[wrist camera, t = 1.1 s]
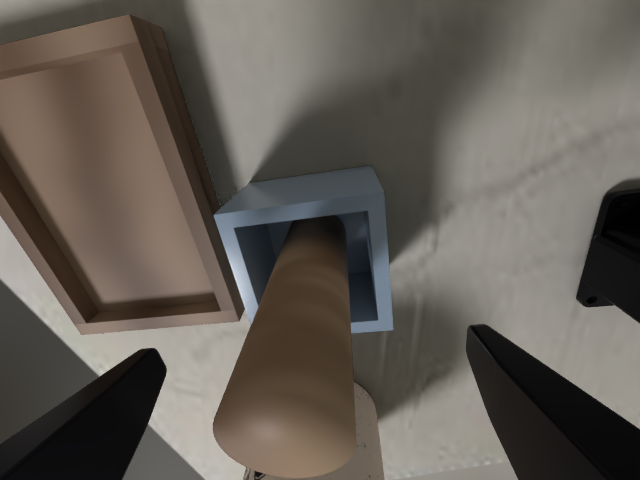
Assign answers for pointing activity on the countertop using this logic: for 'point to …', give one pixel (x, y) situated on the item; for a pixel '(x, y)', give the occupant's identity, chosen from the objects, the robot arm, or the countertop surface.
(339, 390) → the dowel pin
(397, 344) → the countertop surface
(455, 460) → the countertop surface
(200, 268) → the tray
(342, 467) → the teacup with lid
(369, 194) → the holder cup
